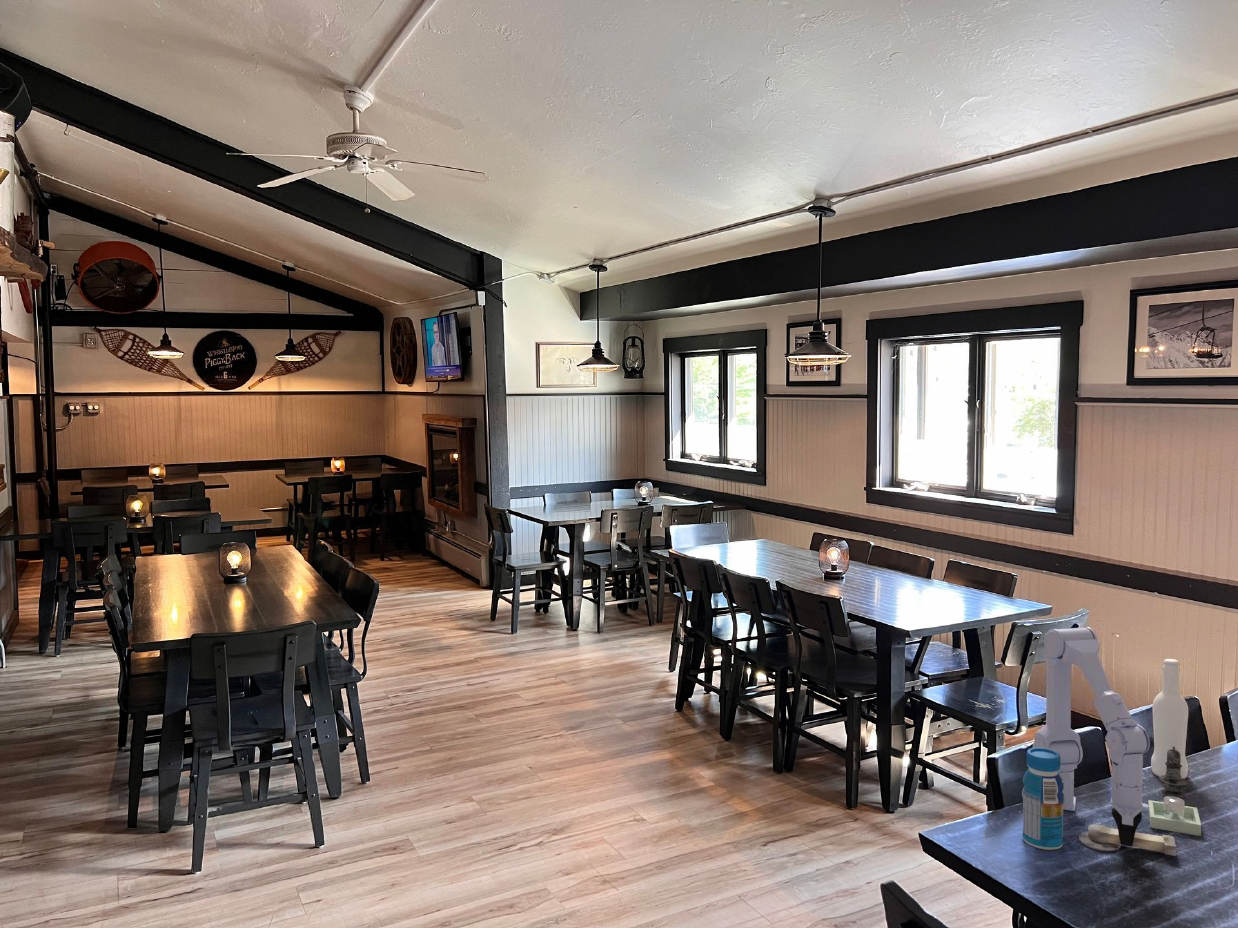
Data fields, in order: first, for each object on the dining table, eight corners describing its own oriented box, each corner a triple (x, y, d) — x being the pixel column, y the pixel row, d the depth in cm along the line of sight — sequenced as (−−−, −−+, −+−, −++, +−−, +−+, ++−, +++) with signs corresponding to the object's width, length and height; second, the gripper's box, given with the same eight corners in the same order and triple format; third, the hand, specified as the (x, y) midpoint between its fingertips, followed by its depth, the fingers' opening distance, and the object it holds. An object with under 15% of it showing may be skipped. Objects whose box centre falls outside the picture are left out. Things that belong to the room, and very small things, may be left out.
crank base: (1078, 846, 195) (1078, 843, 195) (1079, 830, 202) (1079, 827, 202) (1120, 854, 191) (1120, 851, 191) (1120, 838, 199) (1120, 835, 199)
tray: (1150, 827, 203) (1150, 816, 203) (1148, 810, 212) (1148, 799, 212) (1200, 835, 199) (1201, 824, 199) (1196, 818, 207) (1196, 807, 207)
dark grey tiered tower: (1179, 789, 223) (1180, 741, 222) (1192, 799, 217) (1193, 750, 216) (1154, 788, 224) (1155, 741, 223) (1166, 798, 218) (1167, 750, 217)
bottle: (1143, 769, 235) (1145, 656, 234) (1173, 767, 236) (1175, 654, 234) (1165, 781, 227) (1166, 664, 226) (1195, 780, 228) (1197, 663, 226)
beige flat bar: (1088, 840, 196) (1088, 831, 195) (1087, 831, 200) (1088, 822, 200) (1175, 855, 188) (1176, 846, 188) (1173, 845, 193) (1173, 836, 193)
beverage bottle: (1015, 842, 197) (1016, 753, 196) (1029, 829, 204) (1030, 742, 202) (1056, 855, 192) (1057, 763, 190) (1069, 840, 198) (1070, 751, 197)
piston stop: (1163, 822, 204) (1164, 801, 204) (1163, 815, 208) (1163, 794, 208) (1184, 826, 202) (1184, 805, 202) (1183, 819, 206) (1184, 798, 206)
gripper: (1150, 798, 184) (1149, 863, 185) (1147, 773, 197) (1146, 833, 197) (1111, 792, 187) (1110, 856, 188) (1110, 767, 200) (1109, 827, 201)
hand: (1126, 844), depth 193 cm, fingers closed, pressing on beige flat bar
